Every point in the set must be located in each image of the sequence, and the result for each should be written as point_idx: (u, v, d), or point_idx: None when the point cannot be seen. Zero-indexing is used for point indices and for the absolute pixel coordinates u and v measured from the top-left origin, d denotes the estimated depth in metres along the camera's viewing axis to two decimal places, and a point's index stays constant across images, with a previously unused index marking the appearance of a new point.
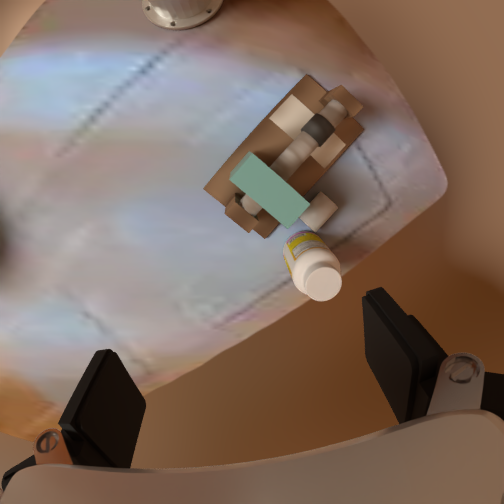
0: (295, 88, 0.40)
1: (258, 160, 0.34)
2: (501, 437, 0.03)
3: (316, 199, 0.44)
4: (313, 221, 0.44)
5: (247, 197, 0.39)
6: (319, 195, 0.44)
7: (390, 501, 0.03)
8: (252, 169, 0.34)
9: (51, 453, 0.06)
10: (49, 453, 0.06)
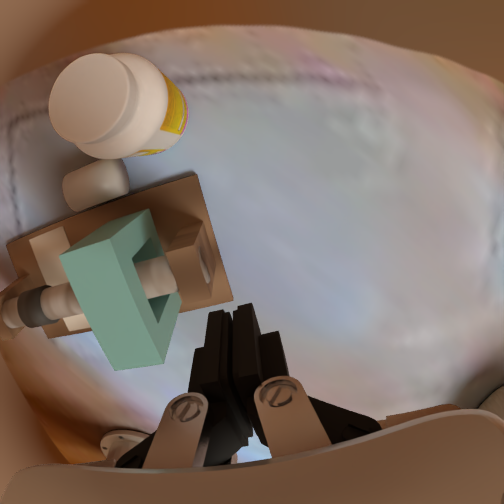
0: (63, 333, 0.29)
1: (110, 359, 0.19)
2: (501, 437, 0.03)
3: None
4: (107, 191, 0.23)
5: (163, 294, 0.22)
6: None
7: (390, 501, 0.03)
8: (123, 354, 0.19)
9: (181, 425, 0.06)
10: (179, 423, 0.07)
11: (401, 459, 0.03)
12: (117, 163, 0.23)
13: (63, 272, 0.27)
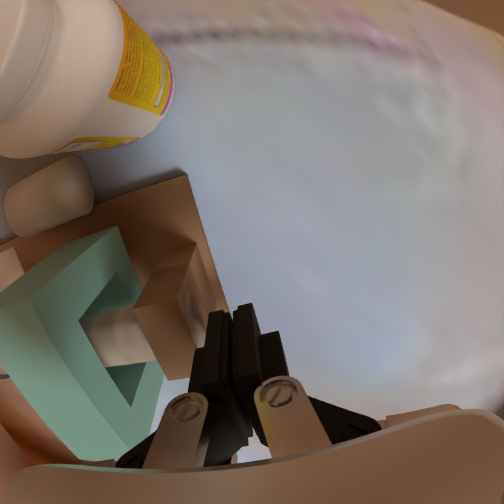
0: None
1: (70, 447, 0.11)
2: (501, 437, 0.03)
3: None
4: (64, 216, 0.15)
5: (137, 362, 0.13)
6: None
7: (390, 501, 0.03)
8: (85, 446, 0.11)
9: (181, 425, 0.06)
10: (179, 423, 0.07)
11: (401, 459, 0.03)
12: (72, 170, 0.15)
13: None
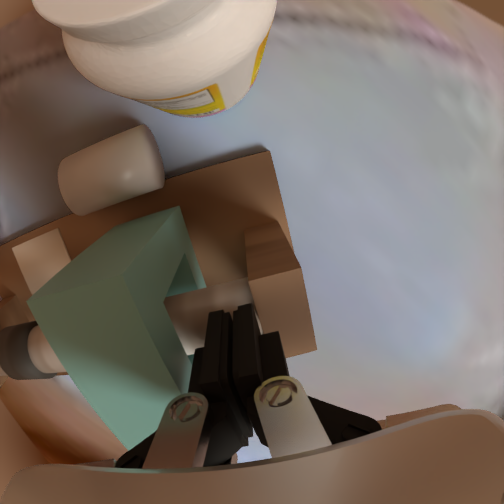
0: None
1: None
2: (501, 437, 0.03)
3: None
4: (137, 190, 0.15)
5: None
6: None
7: (390, 501, 0.03)
8: None
9: (181, 425, 0.06)
10: (179, 423, 0.07)
11: (401, 459, 0.03)
12: (146, 140, 0.14)
13: None
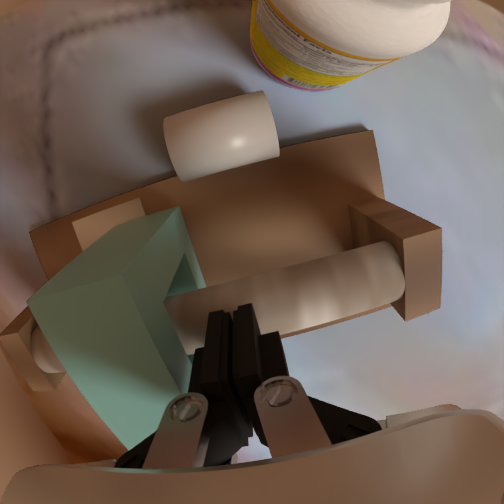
0: None
1: None
2: (501, 437, 0.03)
3: None
4: (259, 156, 0.14)
5: (373, 307, 0.13)
6: None
7: (390, 501, 0.03)
8: None
9: (181, 425, 0.06)
10: (179, 423, 0.07)
11: (401, 459, 0.03)
12: None
13: None
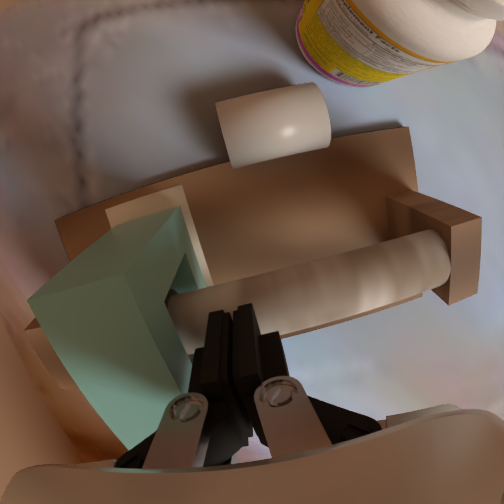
0: None
1: None
2: (501, 437, 0.03)
3: None
4: (311, 145, 0.14)
5: (421, 292, 0.13)
6: None
7: (390, 501, 0.03)
8: None
9: (181, 425, 0.06)
10: (179, 423, 0.07)
11: (401, 459, 0.03)
12: None
13: None
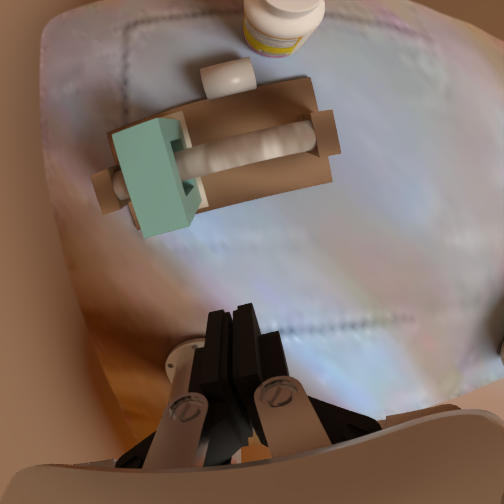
0: None
1: (142, 226, 0.24)
2: (501, 437, 0.03)
3: None
4: (246, 86, 0.27)
5: (301, 149, 0.26)
6: None
7: (390, 501, 0.03)
8: (154, 219, 0.24)
9: (181, 425, 0.06)
10: (179, 423, 0.07)
11: (401, 459, 0.03)
12: None
13: None
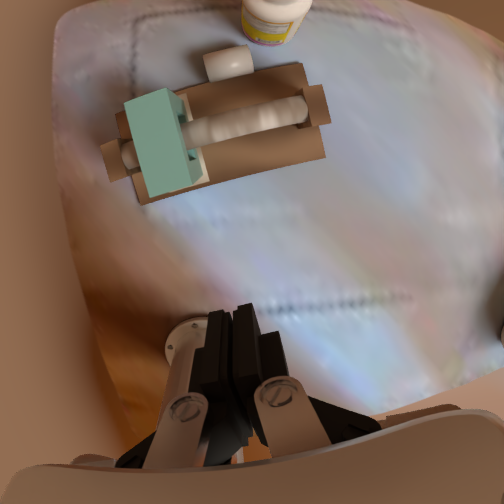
0: (161, 196, 0.36)
1: (148, 186, 0.26)
2: (501, 437, 0.03)
3: None
4: (244, 69, 0.29)
5: (295, 120, 0.28)
6: None
7: (390, 501, 0.03)
8: (160, 179, 0.26)
9: (181, 425, 0.06)
10: (179, 423, 0.07)
11: (401, 459, 0.03)
12: None
13: None
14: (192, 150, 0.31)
